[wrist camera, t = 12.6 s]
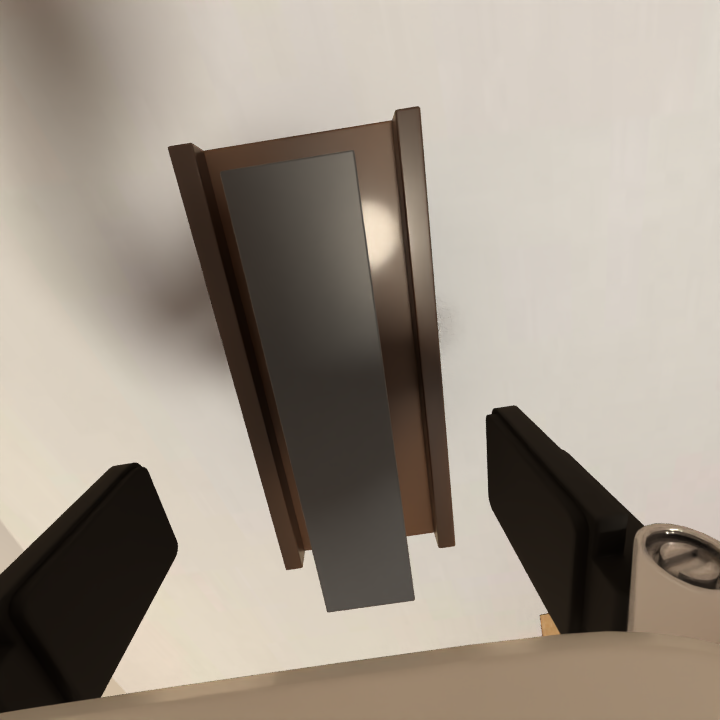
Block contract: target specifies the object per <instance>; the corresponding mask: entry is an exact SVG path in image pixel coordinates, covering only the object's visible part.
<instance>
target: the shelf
mask: <svg viewBox="0 0 720 720" xmlns="http://www.w3.org/2000/svg"><path fill="white" fill-rule="evenodd" d="M168 150H169V154H170V157H171V161H172V165H173V168H174V172H175V175H176V179H177V182H178V186H179V190H180V193H181V197H182V200H183V204H184V207H185V211H186V215H187V218H188V222H189V225H190V229H191V232H192V236H193V240H194V243H195V247H196V250H197V254H198V257H199V261H200V264H201V268H202V272H203V275H204V279H205V282H206V286H207V289H208V293H209V297H210V300H211V304H212V307H213V311H214V314H215V318H216V322H217V325H218V329H219V332H220V336H221V339H222V343H223V346H224V350H225V354H226V357H227V361H228V364H229V368H230V371H231V375H232V379H233V382H234V386H235V389H236V393H237V396H238V400H239V404H240V407H241V411H242V414H243V418H244V421H245V425H246V428H247V432H248V436H249V439H250V443H251V446H252V450H253V453H254V457H255V461H256V464H257V468H258V471H259V475H260V478H261V482H262V486H263V489H264V493H265V496H266V500H267V503H268V507H269V510H270V514H271V518H272V521H273V525H274V528H275V532H276V535H277V539H278V543H279V546H280V550H281V553H282V557H283V560H284V564H285V568H286V570H291V569H298V568H302V567H303V561H304V554H305V551H306V550H312V548H311V544H310V540H309V536H308V531H307V527H306V523H305V519H304V515H303V511H302V507H301V503H300V499H299V495H298V491H297V487H296V482H295V478H294V474H293V470H292V466H291V462H290V458H289V454H288V450H287V446H286V442H285V437H284V433H283V429H282V425H281V421H280V417H279V413H278V409H277V405H276V401H275V397H274V393H273V388H272V384H271V380H270V376H269V372H268V368H267V364H266V360H265V356H264V352H263V348H262V343H261V339H260V335H259V331H258V327H257V323H256V319H255V315H254V311H253V307H252V303H251V299H250V294H249V290H248V286H247V282H246V278H245V274H244V270H243V266H242V262H241V258H240V254H239V250H238V245H237V241H236V237H235V233H234V229H233V225H232V221H231V217H230V213H229V209H228V205H227V200H226V196H225V192H224V188H223V184H222V180H221V176H220V172H221V171H224V170H231V169H237V168H243V167H249V166H256V165H262V164H268V163H274V162H280V161H287V160H293V159H299V158H305V157H312V156H318V155H324V154H330V153H336V152H343V151H349V150H354V152H355V159H356V166H357V174H358V181H359V189H360V196H361V203H362V211H363V218H364V226H365V233H366V241H367V248H368V255H369V263H370V270H371V278H372V285H373V292H374V300H375V307H376V315H377V322H378V329H379V337H380V344H381V352H382V359H383V367H384V374H385V381H386V389H387V396H388V404H389V411H390V418H391V426H392V433H393V441H394V448H395V456H396V463H397V470H398V478H399V485H400V493H401V500H402V507H403V515H404V522H405V530H406V536H412V535H419V534H426V533H433V532H434V534H435V537H436V541H437V544H438V547H439V548H445V547H452V546H455V535H454V522H453V510H452V497H451V485H450V472H449V460H448V448H447V435H446V423H445V410H444V398H443V385H442V373H441V361H440V348H439V336H438V323H437V311H436V299H435V286H434V274H433V261H432V249H431V236H430V224H429V212H428V199H427V187H426V174H425V162H424V149H423V137H422V125H421V112H420V107H418V106H416V107H410V108H404V109H398V110H396V111H395V113H394V116H393V119H392V120H391V121H385V122H379V123H372V124H366V125H360V126H354V127H348V128H341V129H335V130H329V131H323V132H317V133H311V134H304V135H298V136H292V137H286V138H280V139H273V140H267V141H261V142H255V143H249V144H243V145H236V146H230V147H224V148H218V149H212V150H205V151H203V150H202V149H200V148H199V147H197V146H195V145H194V144H192V143H187V144H181V145H174V146H169V147H168Z"/></svg>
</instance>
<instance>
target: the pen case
mask: <svg viewBox="0 0 720 720" xmlns="http://www.w3.org/2000/svg"><path fill="white" fill-rule="evenodd" d="M220 176H221V180H222V184H223V188H224V192H225V196H226V200H227V205H228V209H229V213H230V217H231V221H232V225H233V229H234V233H235V237H236V241H237V245H238V250H239V254H240V258H241V262H242V266H243V270H244V274H245V278H246V282H247V286H248V290H249V294H250V299H251V303H252V307H253V311H254V315H255V319H256V323H257V327H258V331H259V335H260V339H261V343H262V348H263V352H264V356H265V360H266V364H267V368H268V372H269V376H270V380H271V384H272V388H273V393H274V397H275V401H276V405H277V409H278V413H279V417H280V421H281V425H282V429H283V433H284V437H285V442H286V446H287V450H288V454H289V458H290V462H291V466H292V470H293V474H294V478H295V482H296V487H297V491H298V495H299V499H300V503H301V507H302V511H303V515H304V519H305V523H306V527H307V531H308V536H309V540H310V544H311V548H312V552H313V556H314V560H315V564H316V568H317V572H318V576H319V580H320V585H321V589H322V593H323V597H324V601H325V605H326V609H327V612H335V611H342V610H349V609H357V608H364V607H371V606H378V605H385V604H393V603H400V602H407V601H414V600H415V596H414V589H413V582H412V574H411V567H410V559H409V552H408V544H407V537H406V530H405V522H404V515H403V507H402V500H401V493H400V485H399V478H398V470H397V463H396V456H395V448H394V441H393V433H392V426H391V418H390V411H389V404H388V396H387V389H386V381H385V374H384V367H383V359H382V352H381V344H380V337H379V329H378V322H377V315H376V307H375V300H374V292H373V285H372V278H371V270H370V263H369V255H368V248H367V241H366V233H365V226H364V218H363V211H362V203H361V196H360V189H359V181H358V174H357V166H356V159H355V152H354V150H349V151H343V152H336V153H330V154H324V155H318V156H312V157H305V158H299V159H293V160H287V161H280V162H274V163H268V164H262V165H256V166H249V167H243V168H237V169H231V170H224V171H221V172H220Z"/></svg>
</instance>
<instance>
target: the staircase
mask: <svg viewBox="0 0 720 720" xmlns="http://www.w3.org/2000/svg"><path fill="white" fill-rule="evenodd" d="M540 619H541V627H542V635H543V636H549V635H558V634H560V633H559V631H558V629H557V627H556V626H555V624H554V622H553V620H552V618H551V616H550V615H549V614H545V615H540Z"/></svg>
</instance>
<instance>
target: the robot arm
mask: <svg viewBox="0 0 720 720" xmlns="http://www.w3.org/2000/svg"><path fill="white" fill-rule="evenodd" d="M486 439H487V469H488V496H489V502H490V505H491V508H492V510H493V512H494V514H495V516H496V517H497V519H498V521H499V523H500V525H501V527H502V528H503V530H504V532H505V534H506V536H507V538H508V539H509V541H510V543H511V545H512V547H513V549H514V550H515V552H516V554H517V556H518V558H519V560H520V561H521V563H522V565H523V567H524V569H525V571H526V572H527V574H528V576H529V578H530V580H531V582H532V583H533V585H534V587H535V589H536V591H537V593H538V594H539V596H540V598H541V600H542V602H543V604H544V605H545V607H546V609H547V611H548V613H549V615H550V616H551V618H552V620H553V622H554V624H555V626H556V627H557V629H558V631H559V633H560V634H558V635H549V636H541V637H533V638H524V639H516V640H507V641H499V642H490V643H482V644H473V645H465V646H458V647H451V648H443V649H436V650H429V651H422V652H414V653H407V654H400V655H393V656H386V657H378V658H371V659H364V660H357V661H349V662H342V663H335V664H328V665H321V666H314V667H307V668H300V669H293V670H286V671H279V672H272V673H265V674H258V675H251V676H244V677H237V678H230V679H223V680H217V681H210V682H203V683H196V684H189V685H182V686H175V687H168V688H162V689H155V690H148V691H142V692H135V693H128V694H122V695H115V696H110V697H102V698H101V696H102V694H103V692H104V690H105V689H106V687H107V685H108V683H109V681H110V679H111V677H112V675H113V674H114V672H115V670H116V668H117V666H118V664H119V662H120V660H121V659H122V657H123V655H124V653H125V651H126V649H127V647H128V645H129V644H130V642H131V640H132V638H133V636H134V634H135V632H136V631H137V629H138V627H139V625H140V623H141V621H142V619H143V617H144V616H145V614H146V612H147V610H148V608H149V606H150V604H151V602H152V601H153V599H154V597H155V595H156V593H157V591H158V589H159V587H160V586H161V584H162V582H163V580H164V578H165V576H166V574H167V572H168V571H169V569H170V567H171V565H172V563H173V561H174V559H175V557H176V555H177V551H178V543H177V540H176V538H175V535H174V533H173V530H172V528H171V525H170V523H169V521H168V518H167V516H166V513H165V511H164V508H163V506H162V504H161V501H160V499H159V496H158V494H157V491H156V489H155V487H154V484H153V482H152V479H151V477H150V474H149V472H148V470H147V469H146V468H145V467H142V466H141V465H140V464H138V463H130V464H123V465H117V466H112V467H111V468H110V469H108V470H107V471H106V472H105V473H104V474H103V475H102V476H101V477H100V478H99V479H98V480H97V481H96V482H95V483H94V484H93V485H92V486H91V487H90V488H89V489H88V490H87V491H86V492H85V493H84V494H83V495H82V496H81V497H80V498H79V499H78V500H77V501H76V502H75V503H73V504H72V505H71V506H70V507H69V508H68V509H67V510H66V511H65V512H64V513H63V514H62V515H61V516H60V517H59V518H58V519H57V520H56V521H55V522H54V523H53V524H52V525H51V526H50V527H49V528H48V529H47V530H46V531H45V532H44V533H43V534H42V535H41V536H39V537H38V538H37V539H36V540H35V541H34V542H33V543H32V544H31V545H30V546H29V547H28V548H27V549H26V550H25V551H24V552H23V553H22V554H21V555H20V556H19V557H18V558H17V559H16V560H15V561H14V562H13V563H12V564H11V565H10V566H9V567H8V568H7V569H6V570H4V572H2V573H1V574H0V720H720V541H718V540H716V539H714V538H712V537H710V536H708V535H706V534H704V533H702V532H699V531H696V530H693V529H691V528H688V527H684V526H679V525H674V524H662V523H655V524H651V525H646V526H644V525H643V524H642V523H641V522H640V521H639V520H638V519H637V518H635V517H634V516H633V515H632V514H631V513H630V512H629V511H628V510H627V509H626V508H625V507H624V506H623V505H622V504H621V503H620V502H619V501H618V500H617V499H616V498H615V497H614V496H612V495H611V494H610V493H609V492H608V491H607V490H606V489H605V488H604V487H603V486H602V485H601V484H600V483H599V482H598V481H597V480H596V479H595V478H594V477H593V476H592V475H590V474H589V473H588V472H587V471H586V470H585V469H584V468H583V467H582V466H581V465H580V464H579V463H578V462H577V461H576V460H575V459H574V458H573V457H572V456H571V455H570V454H569V453H567V452H566V451H564V450H561V449H560V448H559V447H558V446H557V445H556V444H555V443H554V442H553V441H552V440H551V439H550V438H549V437H548V436H547V435H546V434H545V433H544V432H543V431H542V430H541V429H540V428H539V427H538V426H537V425H536V424H535V423H534V422H533V421H531V420H530V419H529V418H528V417H527V416H526V415H525V414H524V413H523V412H522V411H521V410H520V409H519V408H518V407H517V406H507V407H501V408H494V409H493V410H492V414H490V415H487V416H486Z"/></svg>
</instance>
